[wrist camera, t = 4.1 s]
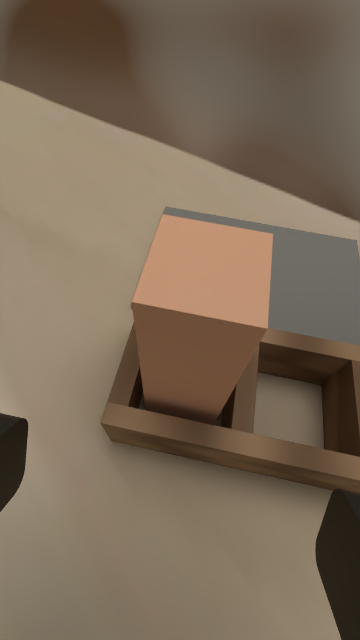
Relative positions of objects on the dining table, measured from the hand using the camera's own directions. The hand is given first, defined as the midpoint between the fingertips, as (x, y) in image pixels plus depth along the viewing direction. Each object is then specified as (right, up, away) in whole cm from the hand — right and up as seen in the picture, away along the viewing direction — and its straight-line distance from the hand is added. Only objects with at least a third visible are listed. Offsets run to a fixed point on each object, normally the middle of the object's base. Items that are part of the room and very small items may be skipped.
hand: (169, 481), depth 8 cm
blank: (+1, -1, +15) cm, 15 cm away
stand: (+8, -3, +15) cm, 17 cm away
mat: (+7, +9, +22) cm, 25 cm away
